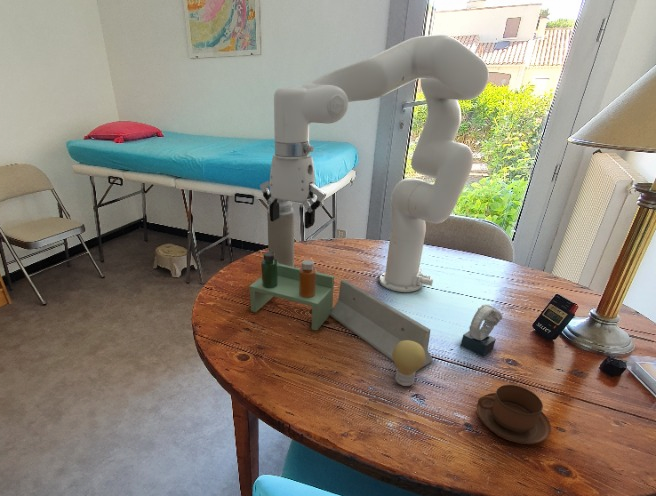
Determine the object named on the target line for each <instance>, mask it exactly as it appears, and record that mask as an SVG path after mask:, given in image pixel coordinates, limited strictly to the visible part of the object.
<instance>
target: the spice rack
mask: <svg viewBox="0 0 656 496" xmlns="http://www.w3.org/2000/svg"><path fill="white" fill-rule="evenodd" d="M277 268H278V285H277V286H276V287H274V288H265V287H263V286H262V276H260V277H259V278H258V279H256V280H255V281H254V282H252V283H251V284H250V285H249V299H250V300H249V301H250V312H253V313H257V312H258V311H259V310H260V309H261V308H263V307H264V306H265V305H266V304H267V303H268V302H269V301H271V299H273V298H279V299H283V300H286V301H290V302H294V303H297V304H301V305H304V306H309V307H311V330H314V331H318V330H319V329H320V328H321V327H322V325H323V324H324V323H325V321H326V320H327V319H328V318H329V316H330V313H331V311H332V310H333V301H334V288H335V287H334V285H335V275H333V274H328V273H322V272H318V271H316V289H315V296H314V297H311V298H303V297H301V296H300V295H299V269H300V268H301V267H296V266H294V267H292V266H288V265H283V264H279V263H277Z"/></svg>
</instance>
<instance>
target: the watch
mask: <svg viewBox="0 0 656 496" xmlns="http://www.w3.org/2000/svg"><path fill="white" fill-rule="evenodd" d="M502 319H503V314H502V313H501V312H500V310H499V309H497V308H496V307H494V306H492V305H489V304H482V305H481V306H480V307H478V308H477V310H476V312H475V314H474V315H473V318H472V319H471V322H470V325H469V328H468V329H469V330H468V331H467V332H465V333H463V335H462V338H461V342H460V347H463V348H465V349H466V350H468V351H470V352H472V353H474V354H476V355H478V356H480V357H482V358H484V357H485V356H486V355H488V354H489V353H491V352H492V351H493V350H494V347H495V345H496V341H497V338H495V337H493V336H491V335H490V334H491V333H492V331H493V330H494V328H495V327H496V326H497V325H498V324H499V322H501V320H502Z"/></svg>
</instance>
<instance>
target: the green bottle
mask: <svg viewBox="0 0 656 496" xmlns="http://www.w3.org/2000/svg"><path fill="white" fill-rule="evenodd" d="M260 264H261V266H260V267H261V277H262V286H263V287H265V288H274V287H276V286H277V285H278V268H277V260H276V259H275V253H274V252H268V251H264V253H263V259H262V260H261V263H260Z"/></svg>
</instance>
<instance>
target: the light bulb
mask: <svg viewBox="0 0 656 496" xmlns="http://www.w3.org/2000/svg"><path fill="white" fill-rule="evenodd" d="M392 357H393V360H392V361H393V363H394V365H395V367H396V372H395V377H394V378H395V381H396V383H397V384H399V385H400V386H404V387H410V386H412V385H413V384H414V383H415V376H416V372H417V371H419V370H420V369H422V368H423V367H424V366H423V364H424V362H425V352H424V349H423V347H422V346H421V345H420V344H419V343H417V342H414V341H410V340H404V341H401V342H399V343H398V344H397V345H396V346H395V348H394V350H393V353H392ZM422 366H423V367H422Z"/></svg>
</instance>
